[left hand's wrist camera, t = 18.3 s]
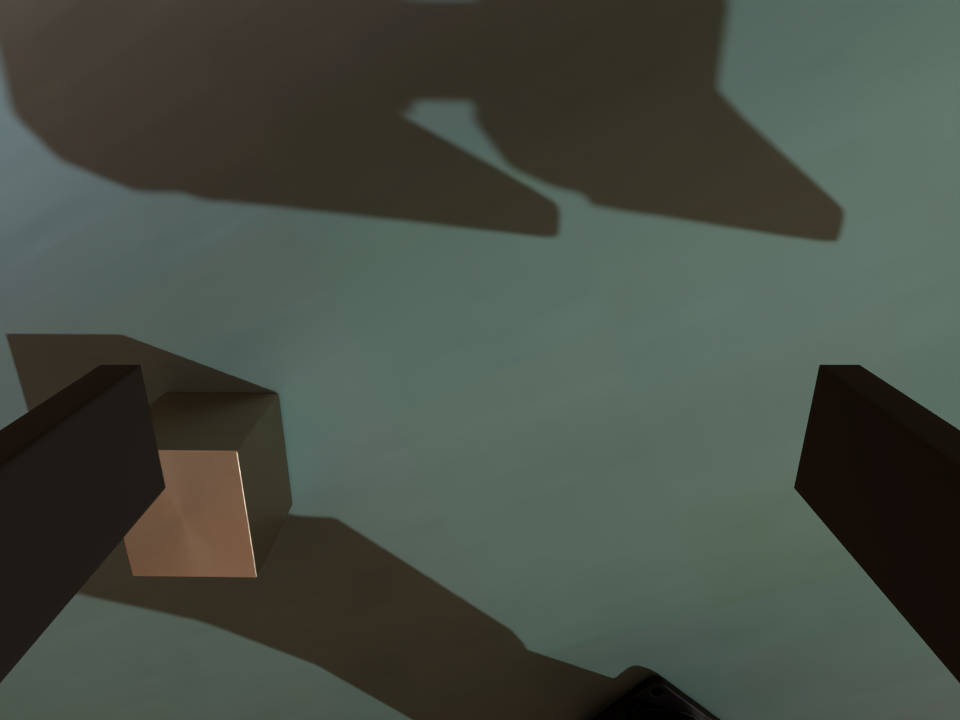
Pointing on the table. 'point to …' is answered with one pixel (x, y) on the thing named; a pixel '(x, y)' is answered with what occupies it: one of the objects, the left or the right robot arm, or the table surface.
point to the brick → (214, 487)
